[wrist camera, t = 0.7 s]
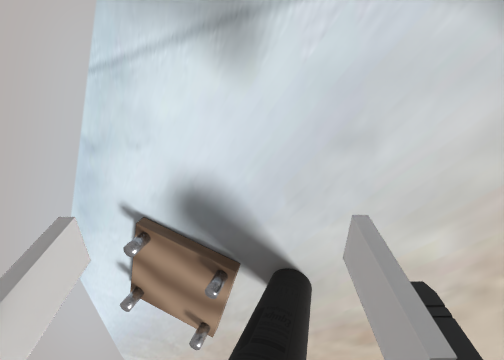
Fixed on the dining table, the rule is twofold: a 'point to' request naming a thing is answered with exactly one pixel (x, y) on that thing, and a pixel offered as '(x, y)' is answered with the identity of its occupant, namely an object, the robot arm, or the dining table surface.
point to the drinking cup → (278, 321)
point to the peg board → (179, 278)
